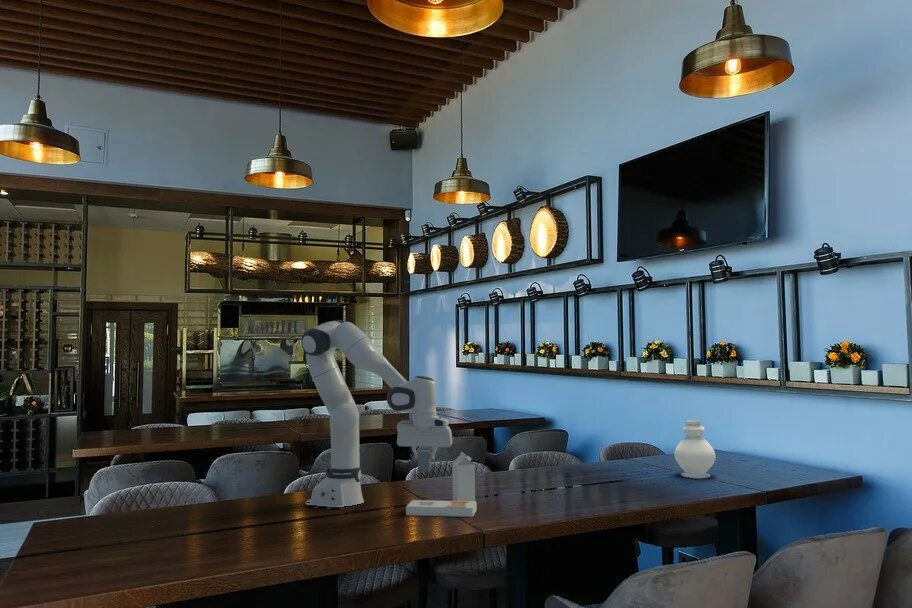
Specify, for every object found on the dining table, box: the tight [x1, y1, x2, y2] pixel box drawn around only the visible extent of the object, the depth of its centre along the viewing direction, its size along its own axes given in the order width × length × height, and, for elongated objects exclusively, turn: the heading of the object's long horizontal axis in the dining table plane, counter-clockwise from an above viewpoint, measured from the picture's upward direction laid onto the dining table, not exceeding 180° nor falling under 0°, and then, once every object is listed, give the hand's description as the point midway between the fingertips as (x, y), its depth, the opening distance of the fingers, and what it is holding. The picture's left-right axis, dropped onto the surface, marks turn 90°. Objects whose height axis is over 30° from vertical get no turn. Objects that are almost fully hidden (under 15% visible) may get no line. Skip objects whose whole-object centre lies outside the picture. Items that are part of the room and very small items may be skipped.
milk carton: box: [451, 451, 476, 501], centre depth 258 cm, size 7×7×19 cm
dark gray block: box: [417, 449, 432, 473], centre depth 240 cm, size 4×4×7 cm
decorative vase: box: [673, 419, 717, 479], centre depth 304 cm, size 18×18×25 cm
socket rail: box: [405, 499, 478, 518], centre depth 238 cm, size 24×10×4 cm, turn 81°
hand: (424, 459), depth 241 cm, fingers closed on dark gray block, 4 cm apart
